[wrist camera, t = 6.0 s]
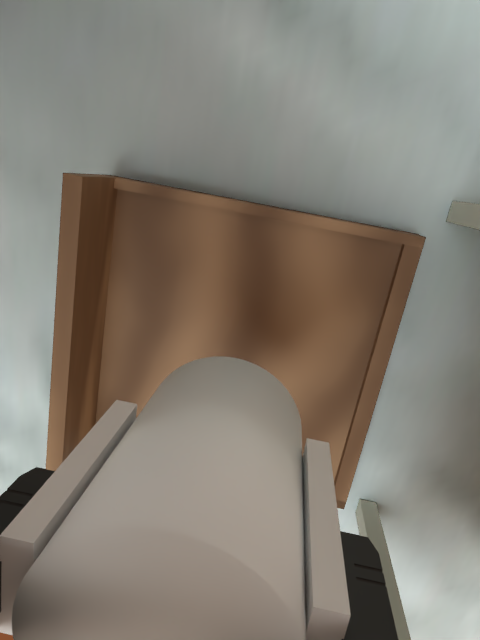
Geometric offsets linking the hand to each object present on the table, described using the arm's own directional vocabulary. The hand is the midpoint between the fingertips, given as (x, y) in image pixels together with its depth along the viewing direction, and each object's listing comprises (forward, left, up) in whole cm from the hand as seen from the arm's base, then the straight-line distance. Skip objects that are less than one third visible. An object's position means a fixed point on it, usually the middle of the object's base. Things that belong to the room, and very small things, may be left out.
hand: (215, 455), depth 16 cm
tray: (-1, -1, -15) cm, 15 cm away
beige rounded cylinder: (0, 0, -2) cm, 2 cm away
